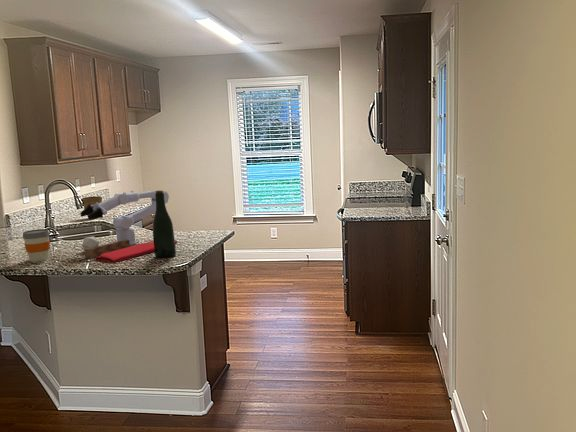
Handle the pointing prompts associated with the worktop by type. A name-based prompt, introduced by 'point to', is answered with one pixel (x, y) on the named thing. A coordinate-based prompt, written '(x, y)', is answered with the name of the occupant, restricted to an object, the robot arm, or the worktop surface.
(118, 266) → the worktop surface
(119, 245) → the brown wooden bar
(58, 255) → the worktop surface
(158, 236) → the dark green wine bottle
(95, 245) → the die
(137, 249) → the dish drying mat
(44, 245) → the reusable coffee cup
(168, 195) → the robot arm
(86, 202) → the plant pot
